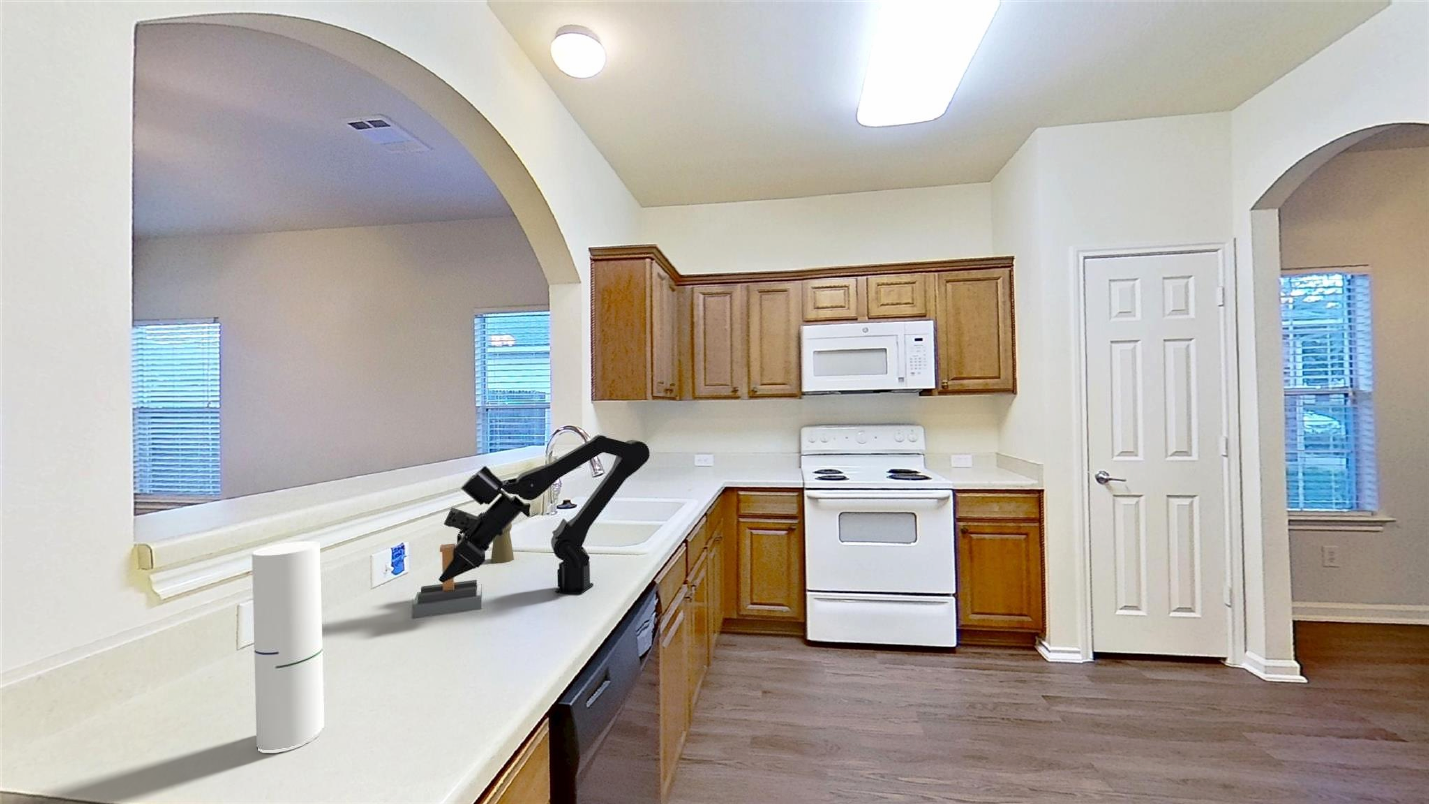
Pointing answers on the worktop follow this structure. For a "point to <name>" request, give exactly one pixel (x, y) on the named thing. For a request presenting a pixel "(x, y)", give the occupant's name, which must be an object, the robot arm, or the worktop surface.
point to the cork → (502, 547)
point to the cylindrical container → (287, 644)
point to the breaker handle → (446, 559)
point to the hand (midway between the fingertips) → (442, 574)
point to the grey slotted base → (447, 599)
